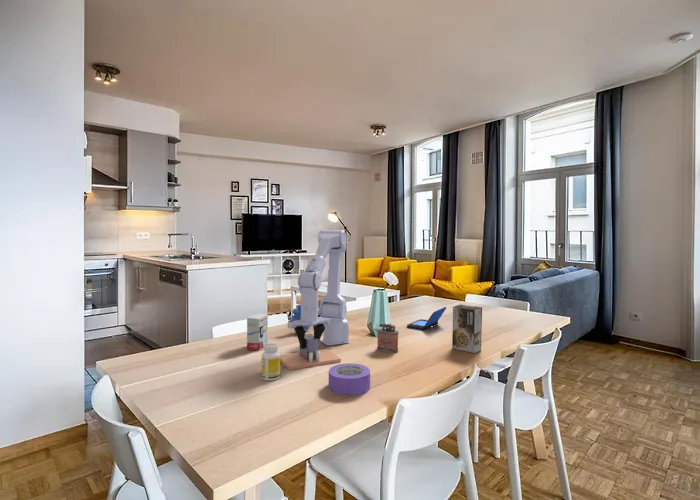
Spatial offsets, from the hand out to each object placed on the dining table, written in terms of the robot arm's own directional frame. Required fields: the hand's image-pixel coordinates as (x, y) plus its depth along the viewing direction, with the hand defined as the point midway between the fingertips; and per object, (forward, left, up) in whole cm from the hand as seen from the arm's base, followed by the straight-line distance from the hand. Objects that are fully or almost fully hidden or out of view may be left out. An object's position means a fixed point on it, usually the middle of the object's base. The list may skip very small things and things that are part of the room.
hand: (309, 347), depth 134 cm
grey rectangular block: (0, 0, -3) cm, 3 cm away
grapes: (-11, -35, -5) cm, 37 cm away
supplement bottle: (+16, +10, -5) cm, 19 cm away
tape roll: (-2, +26, -5) cm, 27 cm away
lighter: (-30, +2, -5) cm, 30 cm away
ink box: (+12, -22, -5) cm, 25 cm away
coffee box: (-58, +13, -5) cm, 60 cm away
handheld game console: (-66, -21, -5) cm, 69 cm away
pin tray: (0, 0, -4) cm, 4 cm away
